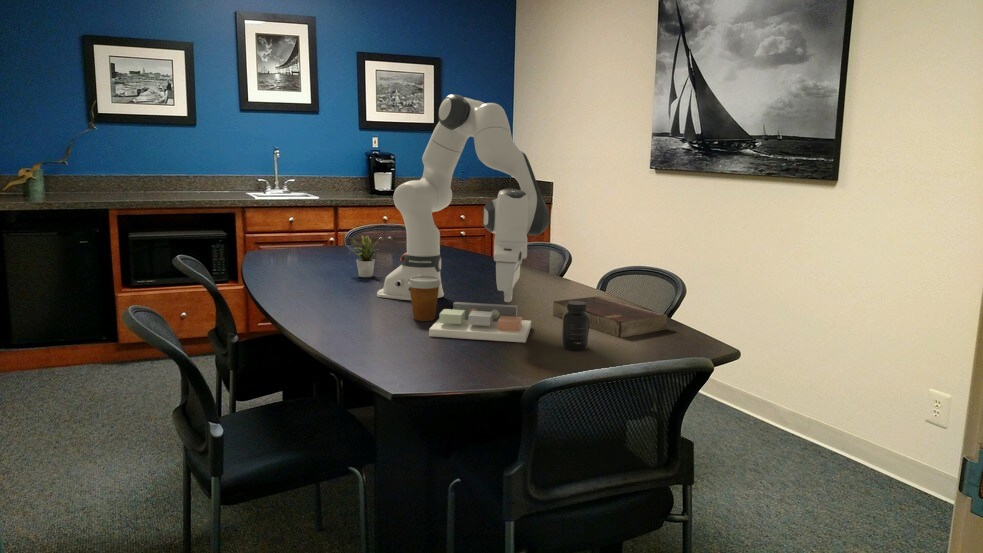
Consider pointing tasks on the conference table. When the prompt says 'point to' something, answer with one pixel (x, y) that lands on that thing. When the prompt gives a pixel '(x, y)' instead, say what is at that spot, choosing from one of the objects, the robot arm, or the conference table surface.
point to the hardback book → (616, 317)
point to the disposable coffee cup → (424, 296)
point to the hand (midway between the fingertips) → (508, 301)
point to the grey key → (480, 318)
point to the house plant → (365, 258)
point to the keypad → (480, 330)
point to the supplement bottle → (575, 327)
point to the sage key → (452, 316)
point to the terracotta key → (509, 323)
